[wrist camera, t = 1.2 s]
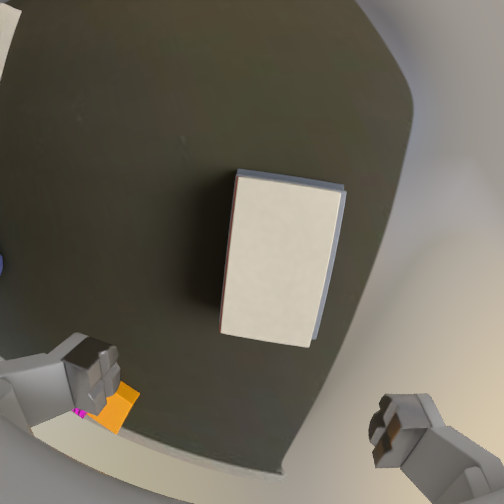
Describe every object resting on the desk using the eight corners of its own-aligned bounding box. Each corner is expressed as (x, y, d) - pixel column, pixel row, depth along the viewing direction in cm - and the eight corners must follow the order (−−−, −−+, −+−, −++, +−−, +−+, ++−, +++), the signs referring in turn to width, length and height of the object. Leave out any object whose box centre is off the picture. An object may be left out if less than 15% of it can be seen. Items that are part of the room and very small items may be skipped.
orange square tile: (85, 353, 31) (65, 372, 26) (140, 393, 31) (125, 416, 27) (74, 389, 33) (58, 407, 29) (123, 424, 33) (109, 445, 29)
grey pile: (239, 168, 24) (233, 168, 21) (341, 184, 23) (348, 185, 20) (223, 309, 27) (216, 323, 24) (314, 324, 26) (316, 340, 23)
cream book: (241, 176, 21) (236, 176, 19) (336, 190, 20) (341, 192, 18) (224, 319, 24) (218, 333, 22) (308, 333, 23) (309, 348, 21)
